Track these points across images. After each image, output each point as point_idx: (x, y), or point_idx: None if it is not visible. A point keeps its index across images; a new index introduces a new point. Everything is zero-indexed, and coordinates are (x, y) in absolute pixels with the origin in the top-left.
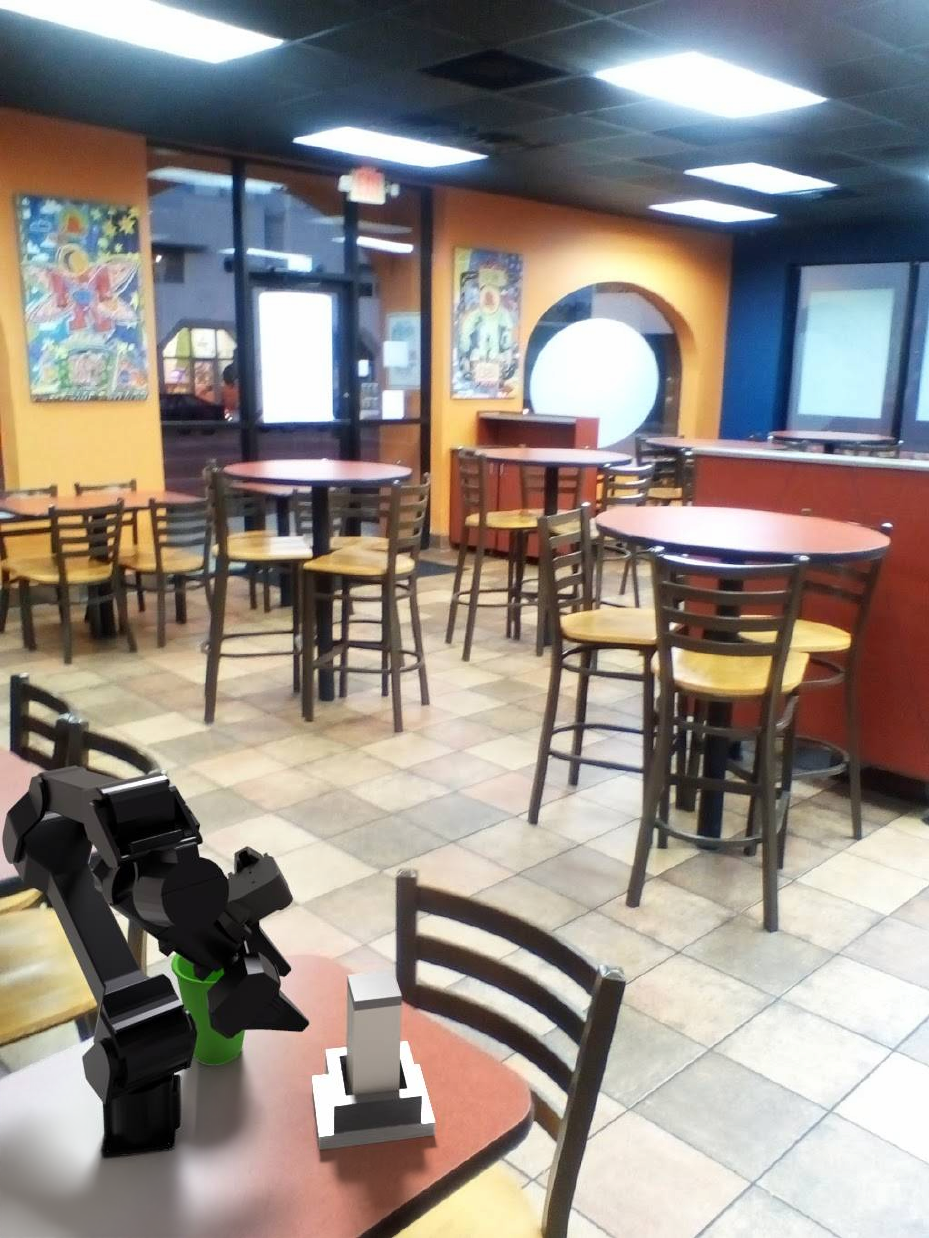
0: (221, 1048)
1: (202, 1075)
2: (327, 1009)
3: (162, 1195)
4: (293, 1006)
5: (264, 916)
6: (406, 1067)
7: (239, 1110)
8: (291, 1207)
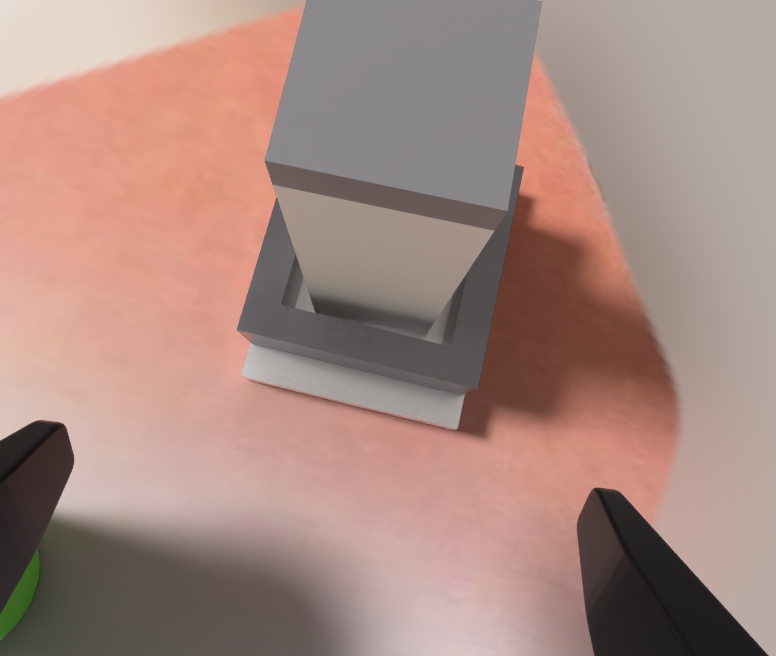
0: (17, 595)
1: (59, 639)
2: None
3: None
4: (734, 640)
5: None
6: None
7: (241, 574)
8: None
